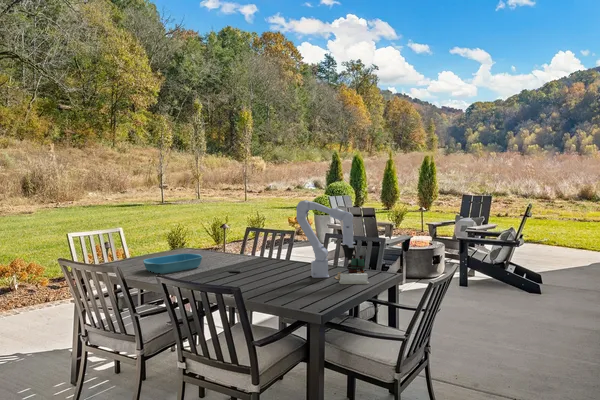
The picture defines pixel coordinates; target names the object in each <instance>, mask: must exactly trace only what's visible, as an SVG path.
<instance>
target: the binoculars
mask: <svg viewBox="0 0 600 400" xmlns="http://www.w3.org/2000/svg"><path fill="white" fill-rule="evenodd" d="M363 256H364V255H363V254H361V255H359V256H358V257H357V255H356V254H354V253H353V256H352V260H350V264H349V265H347V266H346V269H347V270H348V274H357V272H361V274H364V273H365V268H366V264H365V259H364V257H363Z"/></svg>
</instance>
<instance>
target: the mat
mask: <svg viewBox="0 0 600 400" xmlns="http://www.w3.org/2000/svg"><path fill="white" fill-rule="evenodd" d="M338 282H339V284H340V285H362V284H363V285H365V284H366V285H369V284H370V282H369V281H368V282H340V280H338Z"/></svg>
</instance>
